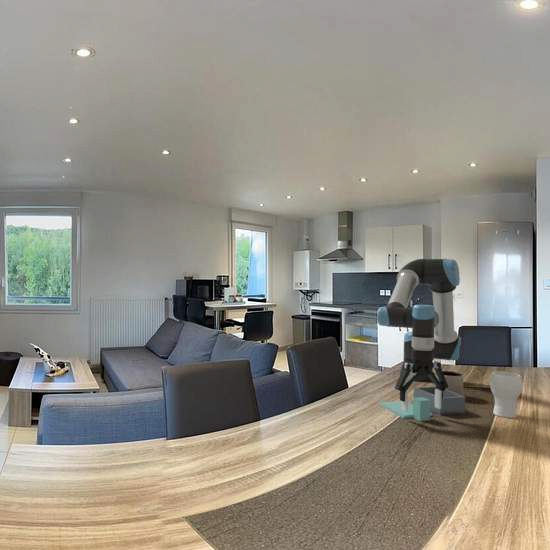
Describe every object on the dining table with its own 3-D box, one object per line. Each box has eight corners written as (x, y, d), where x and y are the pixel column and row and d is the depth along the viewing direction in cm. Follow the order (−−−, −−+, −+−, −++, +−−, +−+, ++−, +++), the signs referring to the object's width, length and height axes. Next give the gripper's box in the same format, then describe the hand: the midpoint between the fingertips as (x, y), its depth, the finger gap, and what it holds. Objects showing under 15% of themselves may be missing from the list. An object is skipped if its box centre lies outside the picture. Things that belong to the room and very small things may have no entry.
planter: (458, 393, 193) (458, 371, 193) (466, 400, 182) (467, 376, 182) (432, 392, 194) (433, 370, 194) (439, 398, 183) (440, 375, 183)
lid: (379, 405, 171) (379, 387, 171) (405, 403, 175) (405, 385, 175) (410, 421, 152) (410, 401, 152) (439, 419, 155) (439, 399, 155)
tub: (413, 402, 176) (414, 387, 176) (437, 401, 179) (437, 386, 179) (439, 415, 160) (440, 398, 160) (465, 413, 164) (465, 396, 164)
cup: (525, 420, 156) (526, 378, 156) (493, 417, 159) (494, 376, 159) (515, 411, 167) (516, 372, 167) (485, 409, 169) (486, 370, 169)
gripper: (397, 351, 148) (396, 414, 148) (459, 349, 156) (458, 410, 155) (385, 347, 156) (384, 408, 155) (445, 346, 163) (444, 404, 163)
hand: (421, 409), depth 155 cm, fingers open, 13 cm apart
